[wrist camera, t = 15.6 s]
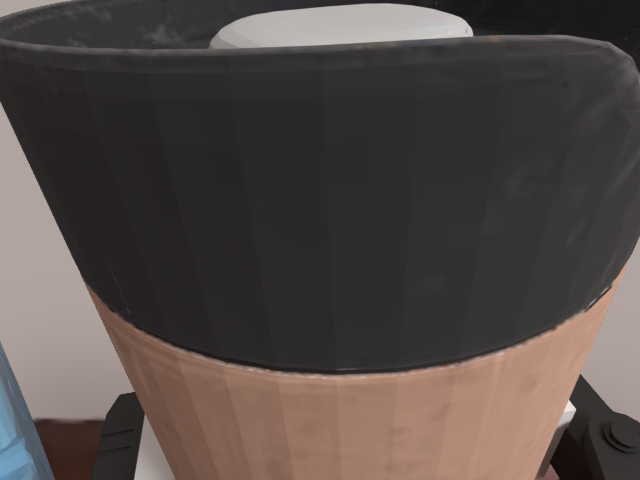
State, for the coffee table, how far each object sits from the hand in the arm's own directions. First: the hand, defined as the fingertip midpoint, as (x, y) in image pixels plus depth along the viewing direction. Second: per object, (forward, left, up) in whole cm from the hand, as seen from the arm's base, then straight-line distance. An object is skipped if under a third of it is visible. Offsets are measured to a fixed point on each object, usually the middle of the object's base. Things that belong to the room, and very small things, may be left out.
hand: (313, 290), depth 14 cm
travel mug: (+2, -5, -11) cm, 12 cm away
